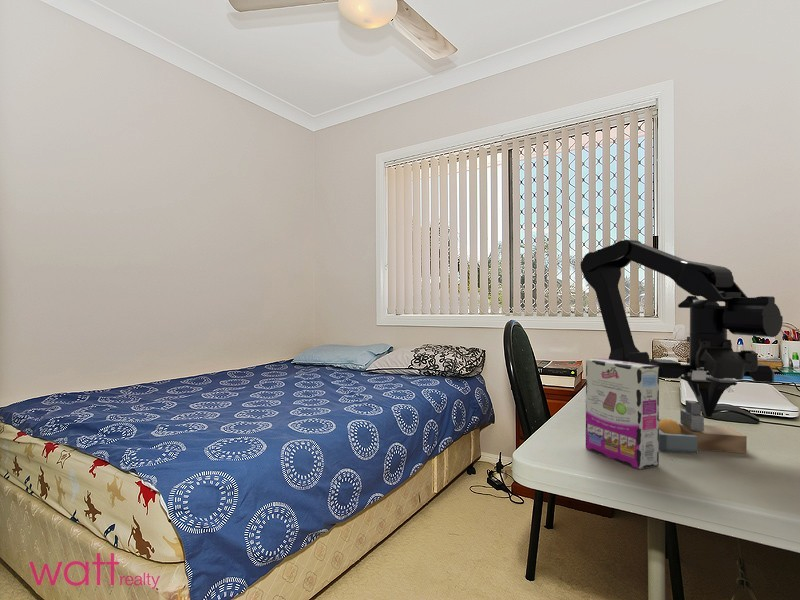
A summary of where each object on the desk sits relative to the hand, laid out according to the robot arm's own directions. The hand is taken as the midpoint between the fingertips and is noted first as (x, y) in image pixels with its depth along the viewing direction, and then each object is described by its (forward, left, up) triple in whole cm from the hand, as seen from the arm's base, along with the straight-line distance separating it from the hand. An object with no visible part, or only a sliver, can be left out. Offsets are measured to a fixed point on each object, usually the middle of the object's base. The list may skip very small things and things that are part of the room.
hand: (707, 416), depth 81 cm
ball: (-7, 0, -3) cm, 7 cm away
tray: (-7, 0, -5) cm, 9 cm away
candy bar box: (-18, -10, -6) cm, 21 cm away
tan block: (+1, 0, -5) cm, 5 cm away
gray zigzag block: (-3, 0, -2) cm, 3 cm away
